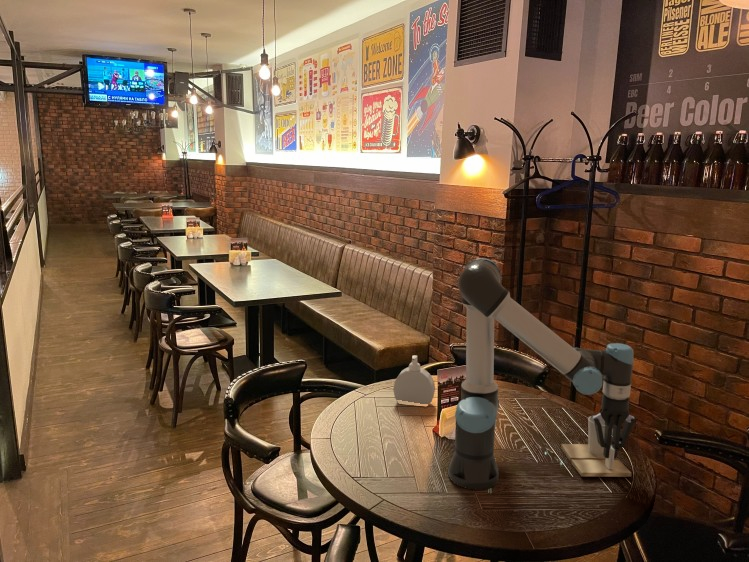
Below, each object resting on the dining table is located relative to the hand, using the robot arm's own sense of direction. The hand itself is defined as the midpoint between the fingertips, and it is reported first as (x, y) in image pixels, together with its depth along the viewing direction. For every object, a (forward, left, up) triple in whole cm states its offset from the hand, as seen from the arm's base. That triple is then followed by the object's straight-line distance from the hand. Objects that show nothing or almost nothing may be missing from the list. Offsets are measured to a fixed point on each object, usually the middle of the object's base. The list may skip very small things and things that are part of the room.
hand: (609, 467), depth 172 cm
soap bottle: (-57, +50, -2) cm, 76 cm away
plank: (-2, +1, -2) cm, 3 cm away
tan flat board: (-2, +11, -2) cm, 12 cm away
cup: (+1, +11, -2) cm, 11 cm away
